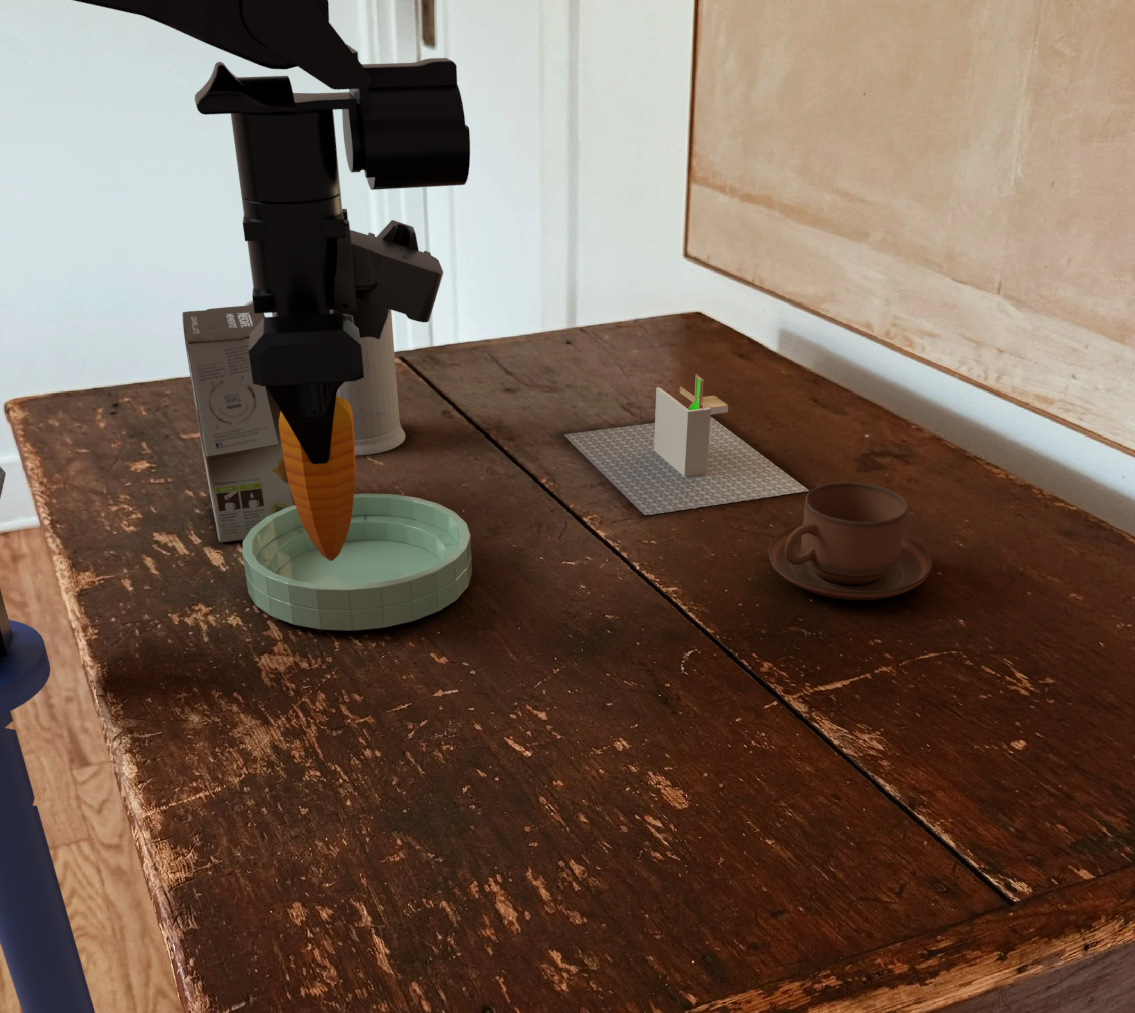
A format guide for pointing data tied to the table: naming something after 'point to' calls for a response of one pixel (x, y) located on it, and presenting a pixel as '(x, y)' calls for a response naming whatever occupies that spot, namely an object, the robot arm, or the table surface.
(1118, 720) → the table surface
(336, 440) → the carrot
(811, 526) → the cup and saucer
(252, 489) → the coffee box
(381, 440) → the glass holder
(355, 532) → the bowl
